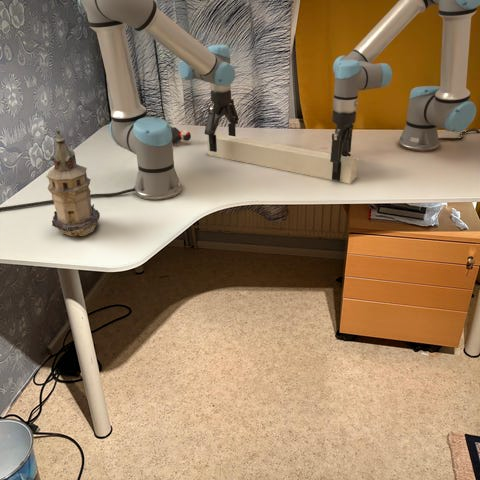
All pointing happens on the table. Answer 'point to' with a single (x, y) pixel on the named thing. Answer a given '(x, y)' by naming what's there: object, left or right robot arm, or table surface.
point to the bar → (282, 157)
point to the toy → (179, 135)
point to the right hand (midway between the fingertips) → (339, 176)
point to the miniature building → (70, 193)
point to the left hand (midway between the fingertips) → (223, 145)
